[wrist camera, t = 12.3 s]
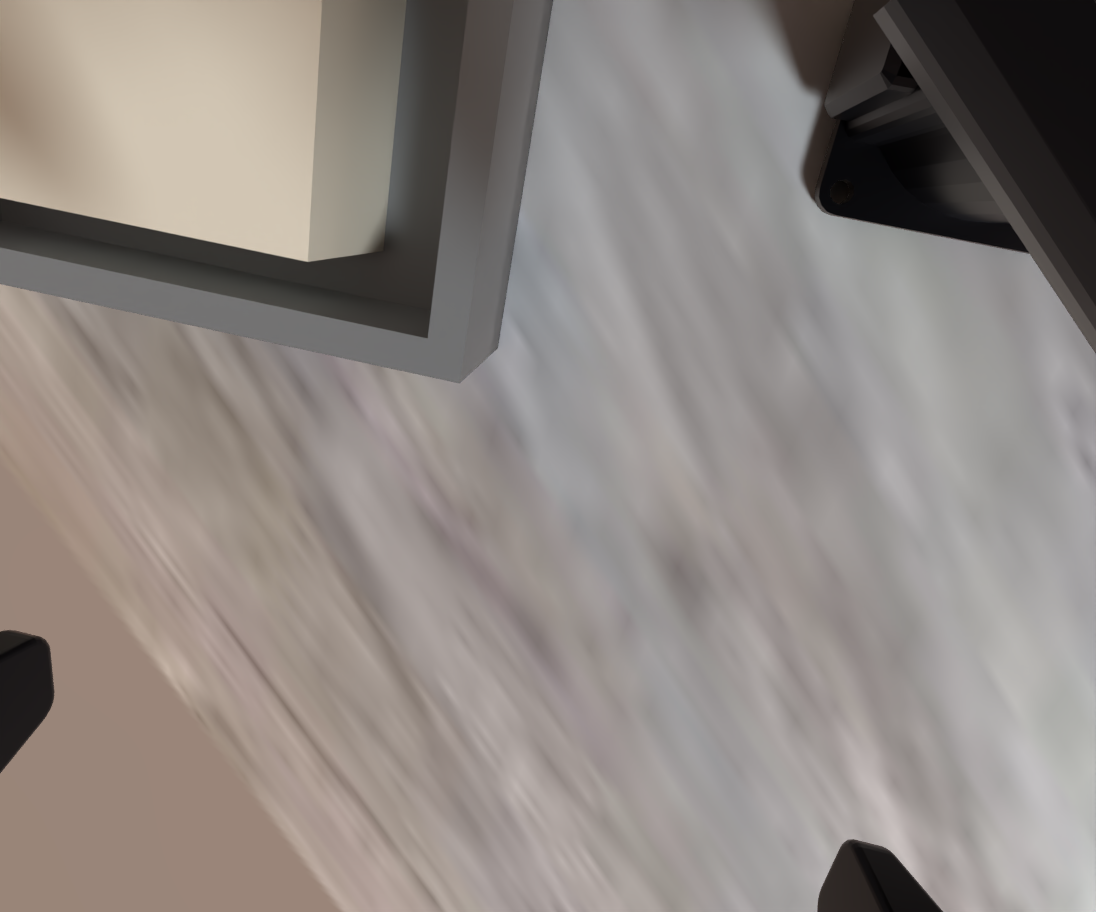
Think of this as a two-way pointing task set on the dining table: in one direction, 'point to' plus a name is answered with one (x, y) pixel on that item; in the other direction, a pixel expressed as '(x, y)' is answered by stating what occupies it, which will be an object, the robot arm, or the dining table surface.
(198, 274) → the tray
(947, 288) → the dining table surface
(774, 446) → the dining table surface
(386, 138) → the cream beveled block
